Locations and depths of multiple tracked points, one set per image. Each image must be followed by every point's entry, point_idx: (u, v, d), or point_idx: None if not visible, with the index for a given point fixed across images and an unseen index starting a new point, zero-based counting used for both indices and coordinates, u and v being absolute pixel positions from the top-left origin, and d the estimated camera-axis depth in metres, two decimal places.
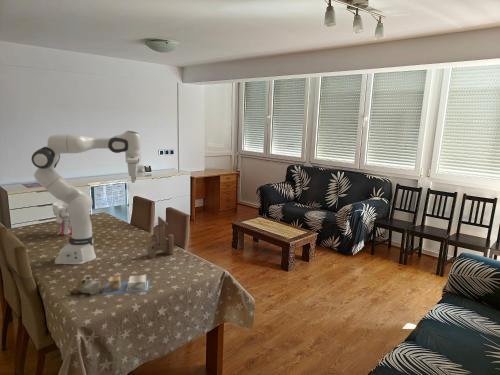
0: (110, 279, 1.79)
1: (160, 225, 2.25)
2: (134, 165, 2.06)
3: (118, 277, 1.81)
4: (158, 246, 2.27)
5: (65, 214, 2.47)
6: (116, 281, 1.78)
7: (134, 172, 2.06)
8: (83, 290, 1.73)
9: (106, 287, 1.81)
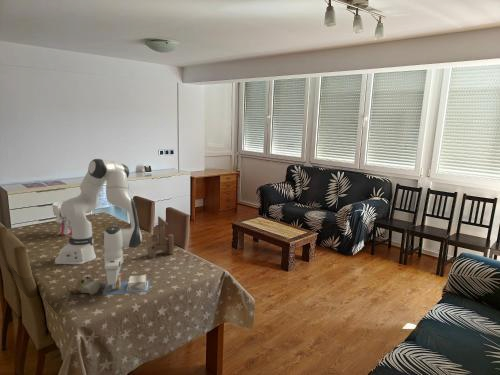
0: None
1: (160, 225, 2.25)
2: (114, 272, 1.70)
3: (118, 277, 1.81)
4: (158, 246, 2.27)
5: None
6: None
7: (114, 281, 1.70)
8: (82, 290, 1.73)
9: (106, 287, 1.81)
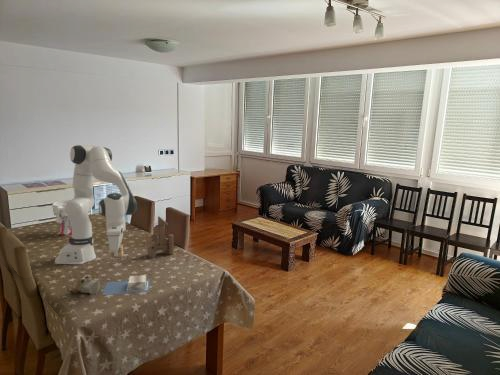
0: None
1: (160, 225, 2.25)
2: (116, 238, 1.67)
3: (121, 246, 1.78)
4: (158, 246, 2.27)
5: (65, 214, 2.47)
6: (119, 249, 1.75)
7: (116, 247, 1.67)
8: (82, 289, 1.73)
9: (106, 287, 1.81)
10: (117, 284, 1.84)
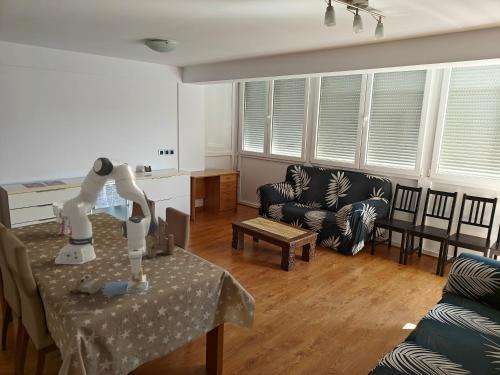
0: None
1: (160, 225, 2.25)
2: (138, 261, 1.71)
3: (141, 269, 1.83)
4: (158, 246, 2.27)
5: None
6: (139, 272, 1.80)
7: (138, 269, 1.71)
8: (82, 289, 1.74)
9: (106, 287, 1.81)
10: (117, 284, 1.84)
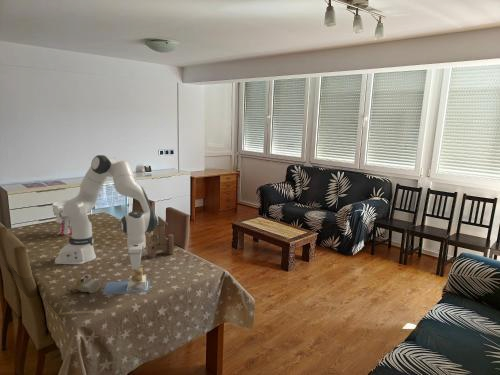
0: (133, 270, 1.80)
1: (160, 225, 2.25)
2: (138, 256, 1.71)
3: (141, 269, 1.82)
4: (158, 246, 2.27)
5: None
6: (139, 272, 1.80)
7: (138, 264, 1.71)
8: (82, 289, 1.74)
9: (106, 287, 1.81)
10: (117, 284, 1.84)
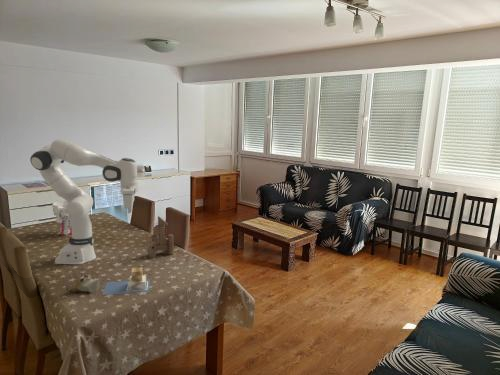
0: (133, 270, 1.80)
1: (160, 225, 2.25)
2: (130, 197, 1.87)
3: (141, 269, 1.83)
4: (158, 246, 2.27)
5: (65, 214, 2.47)
6: (139, 272, 1.80)
7: (130, 204, 1.87)
8: (82, 288, 1.75)
9: (106, 287, 1.81)
10: (117, 284, 1.84)
